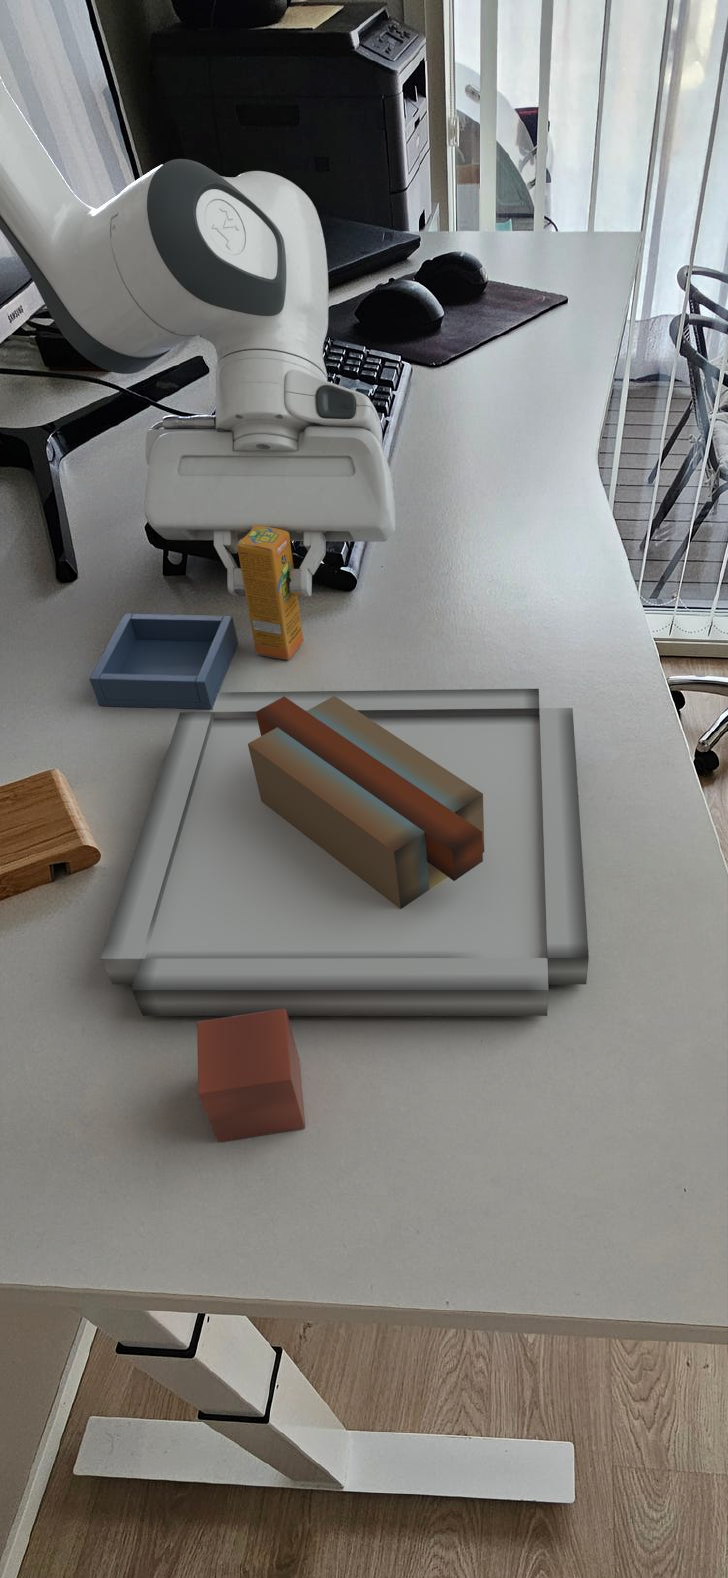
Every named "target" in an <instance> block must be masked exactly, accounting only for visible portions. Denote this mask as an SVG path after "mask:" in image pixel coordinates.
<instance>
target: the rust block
mask: <svg viewBox="0 0 728 1578" xmlns="http://www.w3.org/2000/svg"><path fill="white" fill-rule="evenodd" d="M196 1027H197V1028H196V1029H197V1030H196V1031H197V1034H196V1036H197V1038H196V1039H197V1040H196V1041H197V1095H198V1098H199V1099H200V1102H201V1105H202V1107H203V1109H204V1112H205V1114H206V1117H207V1118H208V1121H209V1124H210V1126H211V1128H212V1130H213V1133H214V1135H215V1137H216V1140H217V1142H218V1143H222V1142H230V1141H236V1140H241V1139H248V1138H254V1137H260V1136H266V1135H271V1134H279V1133H286V1132H290V1131H297V1130H303V1129H306V1118H305V1117H306V1116H305V1107H304V1106H305V1105H304V1096H303V1094H304V1093H303V1083H302V1082H303V1081H302V1072H301V1070H302V1069H301V1060H300V1056H299V1052H298V1049H297V1048H298V1047H297V1045H296V1040H295V1037H294V1034H293V1030H292V1026H291V1023H290V1019H289V1016H288V1015H287V1011H286V1009H278V1010H272V1011H265V1012H258V1013H252V1014H245V1015H238V1016H224V1017H220V1018H213V1019H206V1020H200V1021H197V1023H196Z"/></svg>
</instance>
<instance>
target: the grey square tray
mask: <svg viewBox="0 0 728 1578" xmlns="http://www.w3.org/2000/svg"><path fill="white" fill-rule="evenodd" d="M575 737H576V736H575V723H574V708H573V707H540V688H476V689H475V688H474V689H473V688H470V689H469V688H467V689H462V688H461V689H395V690H394V689H391V690H387V689H385V690H384V689H383V690H309V691H308V690H307V691H306V690H305V691H300V690H299V691H296V690H295V691H225V692H223V691H221V692H220V691H219V692H218V694H217V697H216V700H215V702H214V705H213V707H212V711H180V712H179V714H178V717H177V720H176V723H175V727H174V729H173V733H172V736H171V739H170V742H169V746H168V748H167V752H166V754H165V757H164V760H163V763H162V766H161V770H160V772H159V775H158V779H157V782H156V785H155V788H154V790H153V791H154V792H153V794H152V797H151V801H150V804H149V807H148V810H147V813H146V815H145V818H144V819H145V820H144V822H143V826H142V829H141V832H140V836H139V838H138V841H137V844H136V847H135V851H134V853H133V857H132V860H131V862H130V866H129V869H128V872H127V874H126V875H127V876H126V878H125V881H124V884H123V886H122V887H123V888H122V891H121V892H120V893H121V894H120V897H119V900H118V903H117V906H116V909H115V912H114V914H113V918H112V922H111V924H110V927H109V931H108V934H107V937H106V940H105V943H104V946H103V949H102V953H101V955H100V958H99V959H100V961H101V963H102V965H103V967H104V969H105V971H106V973H107V976H108V978H109V980H110V982H111V984H112V985H131V993H132V995H133V997H134V1000H135V1002H136V1004H137V1006H138V1008H139V1011H140V1013H141V1015H142V1016H145V1017H147V1016H148V1017H151V1016H152V1017H153V1016H156V1017H157V1016H160V1017H161V1016H162V1017H163V1016H164V1017H165V1016H168V1017H169V1016H171V1017H174V1016H175V1017H176V1016H177V1017H178V1016H180V1017H183V1016H187V1017H188V1016H189V1017H193V1016H196V1017H197V1016H198V1017H203V1016H205V1017H207V1016H208V1017H209V1016H210V1017H211V1016H213V1017H214V1016H215V1017H218V1016H219V1017H221V1016H222V1017H223V1016H224V1017H232V1016H238V1015H245V1014H252V1013H258V1012H265V1011H272V1010H278V1009H286V1011H287V1015H288V1017H308V1016H309V1017H310V1016H311V1017H317V1016H318V1017H338V1016H339V1017H351V1016H352V1017H548V1006H549V1005H548V1004H549V985H587V981H588V971H589V961H590V960H589V959H590V956H589V954H590V953H589V940H588V939H589V938H588V924H587V908H586V893H585V878H584V877H585V876H584V863H583V847H582V832H581V830H582V829H581V818H580V817H581V815H580V800H579V785H578V783H579V782H578V770H577V753H576V752H577V751H576V738H575Z"/></svg>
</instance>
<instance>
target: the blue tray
mask: <svg viewBox="0 0 728 1578" xmlns="http://www.w3.org/2000/svg"><path fill="white" fill-rule="evenodd" d="M236 630H237V629H236V627H235V622H234V617H233V616H231V615H198V614H197V615H196V614H193V615H192V614H157V613H156V614H154V613H153V614H150V613H123V615H122V617H121V619H120V621H119V622H118V624H117V626H116V628H115V630H114V632H113V634H112V636H111V638H110V640H109V641H108V643H107V645H106V647H105V649H104V650H103V652H102V654H101V655H100V657H99V660H98V662H97V664H96V666H95V667H94V669H93V671H92V673H91V675H90V677H89V680H88V681H89V682H90V684H91V688H92V691H93V694H94V696H95V699H96V702H97V704H98V706H99V707H126V708H127V707H129V708H160V709H162V708H164V709H168V708H169V709H194V710H195V709H197V710H213V708H214V704H215V701H216V697H217V694H218V692H220V690H221V687H222V685H223V682H224V680H225V678H226V675H227V673H228V670H229V668H230V665H231V663H232V661H233V657H234V655H235V652H236V650H237V648H238V646H239V639H238V635H237V631H236Z"/></svg>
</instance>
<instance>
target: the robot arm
mask: <svg viewBox="0 0 728 1578" xmlns="http://www.w3.org/2000/svg"><path fill="white" fill-rule="evenodd" d="M26 119H27V118H25V116H24V114H23V113H22V112H21V110H20V108H19V106H18V105H17V104H16V102H15V100H14V99H13V97H12V96H11V94H10V93H9V91H8V89H7V88H6V86H5V84H4V81H3V79H2V77H1V76H0V232H1V233H2V234H3V235H4V237H5V238H6V240H7V241H8V242H9V244H10V245H11V247H12V249H13V250H14V252H15V253H16V254H17V256H18V257H19V259H20V260H21V262H22V264H23V265H24V267H25V268H26V270H27V272H28V275H29V276H30V277H31V279H32V281H33V283H34V285H35V287H36V289H37V291H38V293H39V295H40V297H41V299H42V301H43V303H44V305H45V307H46V308H47V310H48V312H49V314H50V316H51V318H52V320H53V321H54V323H55V324H56V326H57V328H58V330H59V331H60V332H61V334H62V336H63V337H64V338H65V339H66V340H67V341H68V342H69V344H70V345H71V346H72V348H74V350H76V351H77V352H78V353H79V354H80V355H81V356H83V357H84V358H85V359H86V360H87V361H89V362H91V363H92V364H93V365H95V366H97V367H99V368H101V369H103V370H106V371H108V372H111V373H115V374H120V375H132V374H137V373H139V372H142V371H144V370H145V369H147V368H148V367H150V366H151V365H153V364H154V363H155V362H157V361H158V360H160V359H161V358H162V357H164V356H165V355H167V354H168V353H169V352H170V351H171V350H172V349H174V348H176V347H178V346H181V345H182V344H184V343H186V342H188V341H190V340H193V339H195V338H196V337H200V338H202V339H204V340H205V341H208V342H210V343H211V344H212V345H213V347H214V349H215V352H216V359H215V414H213V415H205V414H203V415H191V416H181V415H173V414H172V415H166V416H163V417H162V420H161V421H159V422H158V421H157V422H156V423H154V424H153V425H152V426H151V427H150V428H149V430H148V431H147V432H146V434H145V435H146V436H145V459H146V464H147V472H146V480H145V488H144V489H145V490H144V503H143V504H144V507H143V508H144V509H143V511H144V512H143V513H144V514H143V515H144V518H145V519H146V521H147V523H148V524H149V525H150V527H151V528H152V529H153V530H154V531H155V532H156V533H157V534H158V535H159V536H161V537H162V538H163V539H165V540H166V541H167V540H168V541H213V547H214V548H215V550H216V552H217V554H218V556H219V557H220V560H221V561H222V563H223V565H224V567H225V569H226V570H227V575H226V576H227V577H226V578H227V580H226V581H227V585H226V586H227V592H228V594H230V595H231V596H236V597H238V596H239V597H241V596H242V597H244V596H245V597H246V594H245V588H244V583H243V577H242V571H241V567H240V568H239V566H238V565H237V563H236V560H235V559H234V557H233V555H232V554H238V548H237V544H238V542H239V541H240V540H241V539H243V538H244V537H245V536H246V535H247V534H248V533H249V532H250V531H251V530H252V527H253V526H266V527H271V528H277V529H281V530H284V531H287V532H289V537H290V542H303V546H304V548H305V549H306V551H307V553H306V554H305V557H304V559H303V560H302V562H301V564H300V566H299V568H294V569H290V576H289V577H290V579H291V582H290V583H289V588H290V593H291V594H293V596H298V597H307V598H308V597H312V591H313V589H312V588H313V587H312V586H313V576H314V575H315V573H316V572H317V570H318V568H319V567H320V565H321V563H322V561H324V558H325V556H326V553H327V552H326V551H327V550H326V549H327V542H350V543H351V542H352V543H353V542H354V543H357V542H361V543H363V542H365V543H383V542H384V543H385V542H387V541H388V540H389V539H390V537H391V536H392V535H393V533H394V532H395V530H396V523H397V522H396V521H397V519H396V500H395V491H394V482H393V476H392V472H391V469H390V465H389V462H388V458H387V456H386V454H385V451H384V449H383V428H382V423H381V420H380V416H379V414H378V411H377V410H376V407H375V405H374V404H373V402H372V401H371V399H370V398H369V397H368V396H367V395H366V394H365V393H362V392H359V391H357V390H353V389H350V388H347V387H345V386H342V385H339V384H336V383H334V382H331V381H328V373H327V367H326V364H325V360H324V344H325V340H326V337H327V333H328V328H329V309H330V308H329V306H330V305H329V300H330V299H329V298H330V297H329V294H330V292H329V291H330V290H329V271H328V270H329V269H328V257H327V249H326V243H325V236H324V232H323V228H322V224H321V223H322V222H321V220H320V217H319V214H318V211H317V208H316V207H315V205H314V203H313V201H312V200H311V198H310V197H309V196H308V194H306V192H305V191H303V190H302V189H301V188H300V187H299V186H298V185H296V184H295V183H294V182H292V181H291V180H289V179H287V178H285V177H283V176H281V175H278V174H276V173H273V172H269V171H263V170H251V171H245V172H243V173H240V174H239V175H237V176H235V177H233V176H232V177H228V176H227V177H226V176H221V175H220V174H218V173H217V172H215V171H214V170H212V169H211V168H210V167H207V166H206V165H204V164H202V163H200V162H198V161H195V160H192V159H186V158H176V159H171V160H169V161H167V162H164V163H163V164H160V165H158V166H157V167H155V168H153V169H152V170H150V171H149V172H147V173H146V174H144V175H142V176H141V177H139V178H138V179H136V180H135V181H133V182H132V183H131V184H129V185H128V186H126V187H124V189H123V190H121V191H120V192H119V194H118V195H116V196H114V197H113V198H112V199H110V200H108V201H107V202H105V203H103V205H101V206H99V208H94V207H92V206H90V205H87V204H86V203H84V202H83V201H82V200H81V199H80V198H78V196H77V195H76V194H75V193H74V191H73V190H72V189H71V187H70V186H69V184H68V183H67V181H66V180H65V177H64V176H63V175H62V173H61V171H60V170H59V169H58V167H57V165H56V164H55V163H54V161H53V159H52V158H51V156H50V155H49V153H48V151H47V150H46V149H45V147H44V145H43V144H42V143H41V141H40V139H39V138H38V136H37V134H36V133H35V131H34V130H33V128H32V127H31V125H30V124H29V123H28V121H27V120H26Z"/></svg>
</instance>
